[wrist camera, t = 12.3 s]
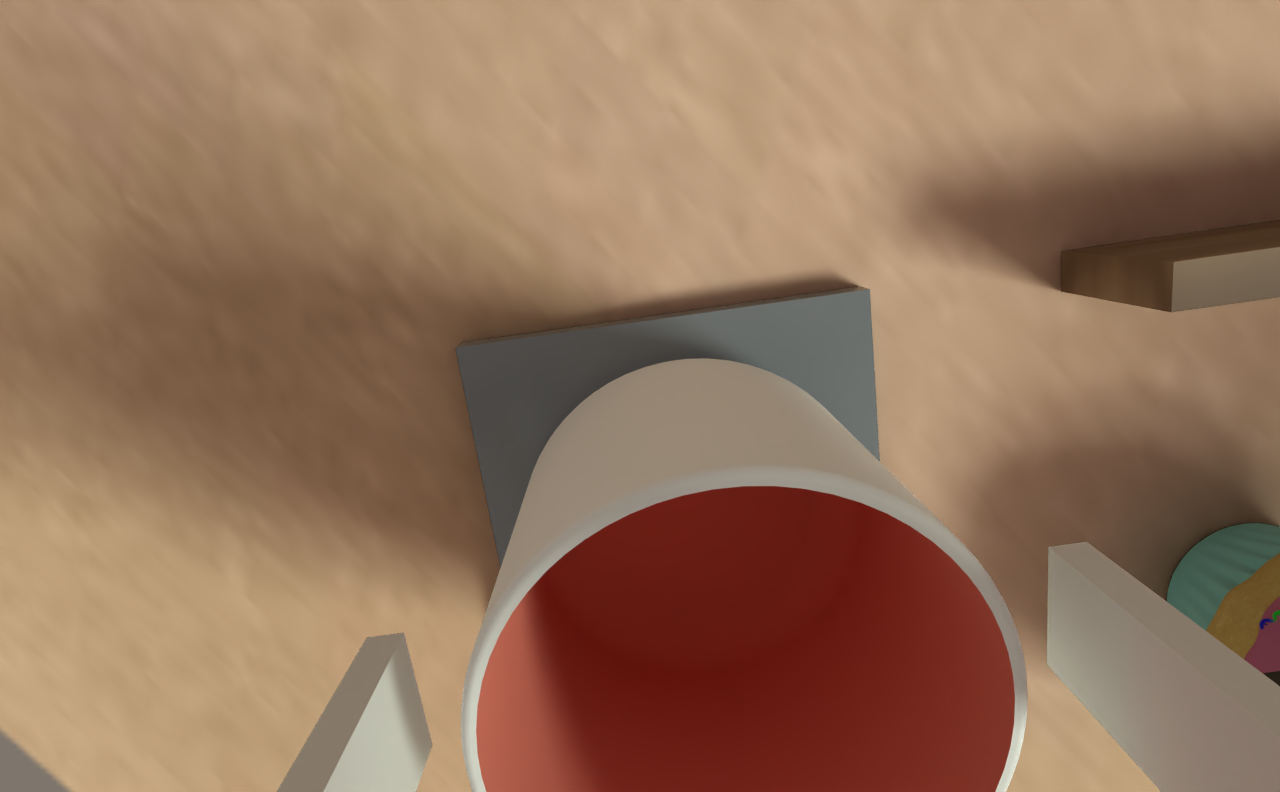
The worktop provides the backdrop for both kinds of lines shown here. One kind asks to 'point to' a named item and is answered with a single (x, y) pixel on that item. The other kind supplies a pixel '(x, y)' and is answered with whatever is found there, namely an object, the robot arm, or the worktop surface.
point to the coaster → (599, 353)
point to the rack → (1180, 269)
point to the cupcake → (1235, 591)
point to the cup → (735, 610)
